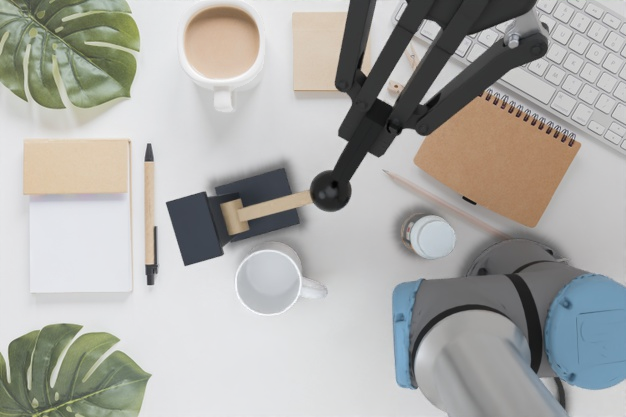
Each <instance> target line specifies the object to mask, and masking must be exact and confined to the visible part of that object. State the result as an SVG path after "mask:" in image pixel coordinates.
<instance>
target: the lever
mask: <svg viewBox="0 0 626 417" xmlns="http://www.w3.org/2000/svg"><path fill="white" fill-rule="evenodd" d="M332 171H333V169H326V170H323V171H321V172H319V173H317V174H316V175H315V176H314V177H313V179H312V180H311V182H310V185H309V189H306V190H303V191H299V192H295V193H292V194H291V195H288V196H284V197H280V198H277V199H273V200H270V201H266V202H262V203H259V204H255V205H251V206H248V207H244V208H243V205H242V201H241V199H237V200H233V201H230V202H226V203H223V204H220V207H221V210H222V214H223V217H224V221H225V224H226V228H227V231H228V234H229V235H234V234H237V233H241V232H244V231H247V230H249V226H248V222H247V220H251V219H255V218H259V217H263V216H266V215H270V214H274V213H278V212H282V211H285V210H289V209H293V208H296V209H297V208H301V207H304V206H308V205H311V204H313V205H314V206H315V207H316V208H317V209H319V210H321V211H323V212H325V213H334V212H338V211H341V210H342V209H344V208H345V207H347V205H348V204H349V203H350V200H351V198H352V191H353V189H352V188H353V187H352V184H351V181H349V183H348V184H347V186H346V185H345V184H343V183H341V182H339V181H337V180H335V179H334V178H332V177H330V175H331V173H332Z"/></svg>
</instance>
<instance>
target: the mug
mask: <svg viewBox="0 0 626 417" xmlns="http://www.w3.org/2000/svg"><path fill="white" fill-rule="evenodd" d="M236 269H237V270H236V272H235V275H234V290H235V293H236V296H237V298H238V300H239V302H240V303H241V304H242V305H243V306H244V308H245V309H247V310H248V311H249V312H251V313H253V314H256V315H259V316H261V317H262V316H263V317H274V316H278V315H281V314H283V313H285V312H287V311H288V310H290V309H291V308H292V307H293V306H294V305H295V304H296V302H298V300H299V298H300V297H302V298H306V299H311V300H321V299H324V298H326V297H327V296H328V293H329V291H328V288H327V287H326V286H325V285H324V284H322V283H320V282H318V281H316V280H314V279H311V278H308V277H305V276H303V266H302V262H301V259H300V257H299V255H298V254H297V252H296V251H295V250H294V249H293V248H292V247H291V246H290V245H288V244H286V243H283V242H280V241H274V240H273V241H271V240H270V241H264V242H261V243H259V244H257V245H255V246H254V247H253V248H252V249H251V250H250V251H249V252H248V253H247V255H246V256H245V257H244V259H243V260H242V261H241V262H240V264H239V265H238V267H237V268H236Z"/></svg>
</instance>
